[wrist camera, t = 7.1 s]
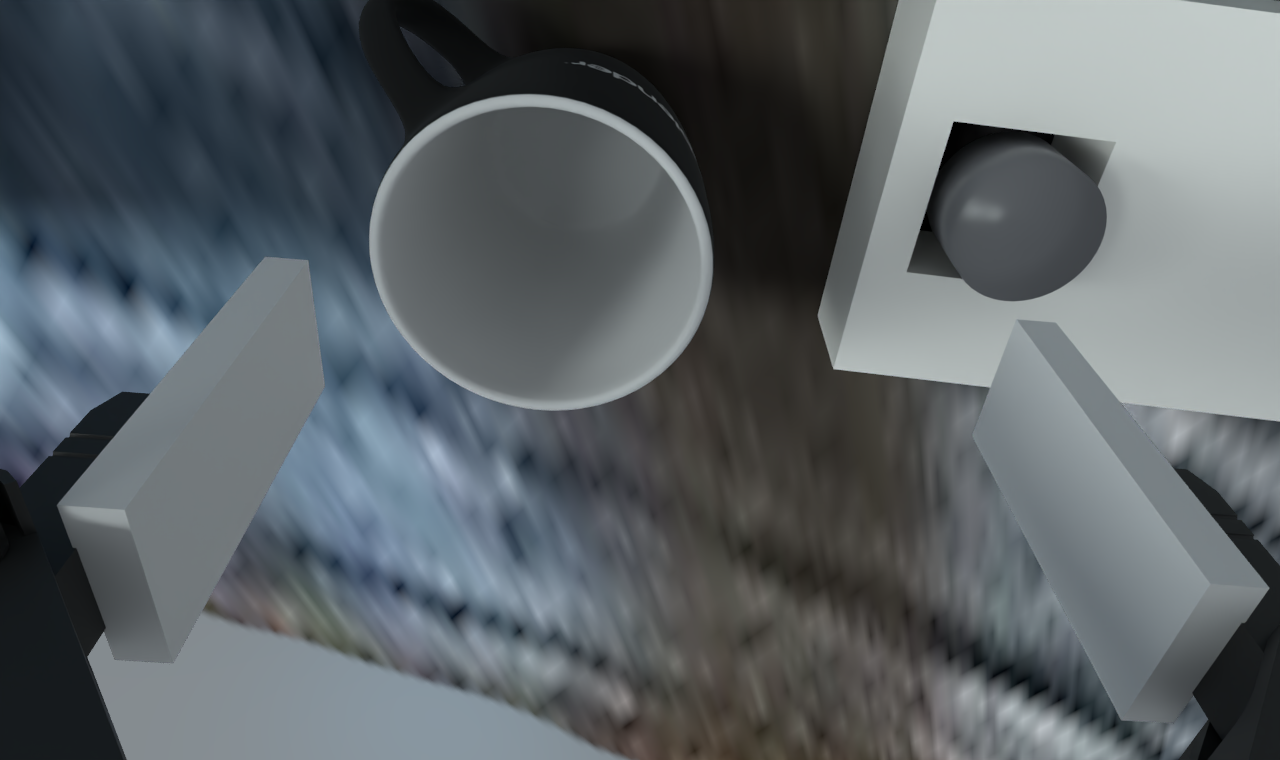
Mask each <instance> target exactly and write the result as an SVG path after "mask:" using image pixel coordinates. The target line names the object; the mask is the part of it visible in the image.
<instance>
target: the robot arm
mask: <svg viewBox="0 0 1280 760" xmlns="http://www.w3.org/2000/svg"><path fill="white" fill-rule="evenodd" d="M324 387H325V383H324V376H323V368H322V360H321V353H320V345H319V338H318V330H317V323H316V315H315V308H314V300H313V292H312V285H311V277H310V270H309V262H308V260H298V259H286V258H274V257H264V259H263V260H262V261H261V262H260V263H259V265H258V266H257V267H256V268H255V269H254V271H253V272H252V273H251V274H250V275H249V277H248V278H247V279H246V280H245V281H244V282H243V284H242V285H241V286H240V287H239V288H238V290H237V291H236V292H235V293H234V294H233V296H232V297H231V298H230V299H229V300H228V302H227V303H226V304H225V305H224V306H223V308H222V309H221V310H220V311H219V312H218V313H217V315H216V316H215V317H214V318H213V319H212V321H211V322H210V323H209V324H208V325H207V327H206V328H205V329H204V330H203V331H202V333H201V334H200V335H199V336H198V337H197V339H196V340H195V341H194V342H193V343H192V344H191V346H190V347H189V348H188V349H187V350H186V352H185V353H184V354H183V355H182V356H181V358H180V359H179V360H178V361H177V362H176V364H175V365H174V366H173V367H172V368H171V370H170V371H169V372H168V373H167V374H166V376H165V377H164V378H163V379H162V380H161V381H160V383H159V384H158V385H157V386H156V387H155V389H154V390H153V391H152V392H151V393H150V394H145V393H132V392H121V393H120V394H118V395H116V396H114V397H113V398H111V399H109V400H108V401H106V402H104V403H103V404H101V405H99V406H97V407H96V408H94V409H92V410H91V411H90V412H89V413H88V414H87V415H86V416H85V417H84V418H83V419H82V420H81V421H80V423H79V424H78V425H77V426H76V427H75V428H74V429H73V430H72V431H71V432H70V437H69V438H65V439H64V440H63V441H62V442H61V443H60V444H59V446H58V447H57V448H56V449H55V450H54V451H53V456H48V458H47V459H46V460H45V461H44V462H43V463H42V464H41V465H40V466H39V467H38V469H37V470H36V471H35V472H34V473H33V474H32V475H31V476H30V477H29V478H28V479H27V481H26V482H25V483H24V484H23V485H22V486H21V487H20V488H19V486H18V483H17V481H16V480H15V479H14V478H13V477H12V476H11V474H10V473H9V472H8V471H6V470H2V469H0V760H126V757H125V754H124V752H123V749H122V746H121V744H120V741H119V739H118V736H117V733H116V731H115V728H114V726H113V723H112V720H111V718H110V715H109V713H108V710H107V707H106V705H105V702H104V699H103V697H102V694H101V692H100V689H99V687H98V684H97V681H96V679H95V676H94V673H93V671H92V668H91V666H90V664H89V661H88V658H87V656H88V655H89V653H90V652H91V650H92V649H93V647H94V645H95V644H96V642H97V641H98V639H99V638H100V636H101V634H102V633H103V632H105V635H106V638H107V641H108V643H109V646H110V649H111V651H112V654H113V657H114V659H115V660H125V661H142V662H158V663H174V661H175V659H176V658H177V656H178V654H179V652H180V650H181V648H182V647H183V645H184V643H185V641H186V639H187V638H188V636H189V634H190V632H191V630H192V628H193V627H194V625H195V623H196V621H197V619H198V617H199V616H200V614H201V612H202V610H203V608H204V606H205V605H206V603H207V601H208V599H209V597H210V595H211V594H212V592H213V590H214V588H215V586H216V585H217V583H218V581H219V579H220V577H221V575H222V574H223V572H224V570H225V568H226V566H227V564H228V563H229V561H230V559H231V557H232V555H233V553H234V552H235V550H236V548H237V546H238V544H239V542H240V541H241V539H242V537H243V535H244V533H245V532H246V530H247V528H248V526H249V524H250V522H251V521H252V519H253V517H254V515H255V513H256V511H257V510H258V508H259V506H260V504H261V502H262V500H263V499H264V497H265V495H266V493H267V491H268V490H269V488H270V486H271V484H272V482H273V480H274V479H275V477H276V475H277V473H278V471H279V469H280V468H281V466H282V464H283V462H284V460H285V458H286V457H287V455H288V453H289V451H290V449H291V447H292V446H293V444H294V442H295V440H296V438H297V437H298V435H299V433H300V431H301V429H302V427H303V426H304V424H305V422H306V420H307V418H308V416H309V415H310V413H311V411H312V409H313V407H314V405H315V404H316V402H317V400H318V398H319V396H320V394H321V393H322V391H323V389H324ZM972 437H973V439H974V441H975V443H976V445H977V447H978V448H979V450H980V452H981V454H982V456H983V458H984V460H985V462H986V464H987V466H988V467H989V469H990V471H991V473H992V475H993V477H994V479H995V481H996V483H997V485H998V486H999V488H1000V490H1001V492H1002V494H1003V496H1004V498H1005V500H1006V502H1007V504H1008V505H1009V507H1010V509H1011V511H1012V513H1013V515H1014V517H1015V519H1016V521H1017V523H1018V524H1019V526H1020V528H1021V530H1022V532H1023V534H1024V536H1025V538H1026V540H1027V542H1028V543H1029V545H1030V547H1031V549H1032V551H1033V553H1034V555H1035V557H1036V559H1037V561H1038V563H1039V564H1040V566H1041V568H1042V570H1043V572H1044V574H1045V576H1046V578H1047V580H1048V582H1049V583H1050V585H1051V587H1052V589H1053V591H1054V593H1055V595H1056V597H1057V599H1058V601H1059V602H1060V604H1061V606H1062V608H1063V610H1064V612H1065V614H1066V616H1067V618H1068V620H1069V621H1070V623H1071V625H1072V627H1073V629H1074V631H1075V633H1076V635H1077V637H1078V639H1079V640H1080V642H1081V644H1082V646H1083V648H1084V650H1085V652H1086V654H1087V656H1088V658H1089V659H1090V661H1091V663H1092V665H1093V667H1094V669H1095V671H1096V673H1097V675H1098V677H1099V678H1100V680H1101V682H1102V684H1103V686H1104V688H1105V690H1106V692H1107V694H1108V696H1109V698H1110V699H1111V701H1112V703H1113V705H1114V707H1115V709H1116V711H1117V713H1118V715H1119V717H1120V718H1121V720H1126V721H1143V722H1160V723H1174V722H1175V721H1176V719H1177V718H1178V716H1179V715H1180V714H1181V712H1182V711H1183V709H1184V708H1185V707H1186V705H1187V704H1188V702H1189V701H1190V700H1191V698H1192V697H1193V695H1194V697H1195V698H1196V700H1197V702H1198V703H1199V705H1200V706H1201V708H1202V710H1203V711H1204V713H1205V714H1206V716H1207V718H1208V721H1207V722H1206V723H1205V725H1204V726H1203V727H1202V729H1201V730H1200V732H1199V733H1198V734H1197V736H1196V737H1195V738H1194V740H1193V741H1192V742H1191V744H1190V745H1189V746H1188V748H1187V749H1186V750H1185V752H1184V753H1183V754H1182V756H1181V757H1180V758H1179V760H1280V566H1279V564H1278V563H1277V562H1276V561H1275V560H1274V558H1273V557H1272V556H1271V555H1270V554H1269V552H1268V551H1267V550H1266V549H1265V548H1264V547H1263V545H1262V544H1261V543H1260V542H1259V541H1258V540H1254V539H1253V536H1254V535H1253V533H1252V532H1251V531H1250V530H1249V529H1248V528H1247V526H1246V525H1245V524H1244V523H1243V522H1242V520H1237V514H1236V513H1235V512H1234V511H1233V510H1232V509H1231V507H1230V506H1229V505H1228V504H1227V503H1226V501H1225V500H1224V499H1223V498H1222V497H1221V495H1220V494H1219V493H1218V492H1217V491H1216V490H1214V489H1213V488H1212V487H1210V486H1209V485H1208V484H1206V483H1205V482H1203V481H1202V480H1201V479H1199V478H1198V477H1197V476H1195V475H1194V474H1193V473H1191V472H1190V471H1188V470H1186V469H1173V467H1172V466H1171V465H1170V464H1169V462H1168V461H1167V460H1166V459H1165V457H1164V456H1163V455H1162V454H1161V452H1160V451H1159V450H1158V449H1157V448H1156V446H1155V445H1154V444H1153V443H1152V441H1151V440H1150V439H1149V438H1148V436H1147V435H1146V434H1145V433H1144V431H1143V430H1142V429H1141V428H1140V426H1139V425H1138V424H1137V423H1136V421H1135V420H1134V419H1133V418H1132V416H1131V415H1130V414H1129V413H1128V411H1127V410H1126V409H1125V408H1124V407H1123V405H1122V404H1121V403H1120V402H1119V400H1118V399H1117V398H1116V397H1115V395H1114V394H1113V393H1112V392H1111V390H1110V389H1109V388H1108V387H1107V385H1106V384H1105V383H1104V382H1103V380H1102V379H1101V378H1100V377H1099V375H1098V374H1097V373H1096V372H1095V370H1094V369H1093V368H1092V367H1091V366H1090V364H1089V363H1088V362H1087V361H1086V359H1085V358H1084V357H1083V356H1082V354H1081V353H1080V352H1079V351H1078V349H1077V348H1076V347H1075V346H1074V344H1073V343H1072V342H1071V341H1070V339H1069V338H1068V337H1067V336H1066V334H1065V333H1064V332H1063V331H1062V329H1061V328H1060V327H1059V326H1058V325H1057V323H1055V322H1043V321H1031V320H1019V319H1016V322H1015V324H1014V327H1013V329H1012V332H1011V335H1010V337H1009V340H1008V342H1007V345H1006V348H1005V350H1004V353H1003V356H1002V358H1001V361H1000V363H999V366H998V369H997V371H996V374H995V376H994V379H993V382H992V384H991V387H990V389H989V392H988V395H987V397H986V400H985V402H984V405H983V408H982V410H981V413H980V416H979V418H978V421H977V423H976V426H975V429H974V431H973V434H972Z"/></svg>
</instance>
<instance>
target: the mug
mask: <svg viewBox="0 0 1280 760" xmlns="http://www.w3.org/2000/svg"><path fill="white" fill-rule="evenodd" d="M399 26H400V27H403V28H405V29H406V30H408V31H410V32H412V33H413V34H415V35H417V36H418V37H419V38H421V39H422V40H424V41H425V42H426V43H428V44H429V45H430V46H431V47H433V48H434V49H435V50H436V51H437V52H439V53H440V54H441V55H442V56H443V57H444V58H445V59H446V60H447V61H448V62H449V63H450V64H451V65H452V66H453V67H454V68H455V69H456V71H457V72H458V73H459V75H460V76H461V78H462V79H463V81H464V84H465V86H463V87H447V86H444V85H442V84H440V83H439V82H437V81H436V80H435V79H434V78H432V77H431V76H430V75H429V74H428V73H427V72H426V70H425V69H424V68H423V67H422V66H421V64H420V63H419V62H418V60H417V59H416V57H415V56H414V54H413V52H412V51H411V49H410V48H409V46H408V44H407V42H406V40H405V38H404V36H403V34H402V32H401V30H400V27H399ZM359 34H360V41H361V45H362V49H363V51H364V54H365V57H366V59H367V61H368V63H369V65H370V67H371V69H372V71H373V73H374V74H375V76H376V78H377V80H378V81H379V83H380V84H381V86H382V88H383V89H384V91H385V93H386V94H387V96H388V97H389V99H390V101H391V102H392V104H393V106H394V107H395V109H396V111H397V113H398V114H399V116H400V119H401V121H402V123H403V126H404V129H405V142H404V145H403V146H402V148H401V149H400V151H399V152H398V153H397V155H396V156H395V157H394V159H393V161H392V162H391V164H390V166H389V167H388V169H387V171H386V172H385V175H384V177H383V179H382V181H381V183H380V186H379V188H378V192H377V195H376V198H375V201H374V204H373V209H372V214H371V220H370V231H369V252H370V259H371V267H372V271H373V275H374V280H375V283H376V286H377V289H378V292H379V295H380V297H381V300H382V302H383V304H384V306H385V308H386V311H387V312H388V314H389V316H390V318H391V319H392V321H393V323H394V324H395V326H396V327H397V329H398V330H399V332H400V333H401V334H402V336H403V337H404V338H405V340H406V341H407V342H408V343H409V344H410V346H411V347H412V348H413V349H414V350H415V351H416V352H417V353H418V354H419V355H420V356H421V357H422V358H423V359H424V360H425V361H426V362H427V363H429V364H430V365H431V366H432V367H433V368H435V369H436V370H437V371H438V372H440V373H441V374H443V375H444V376H445V377H447V378H448V379H450V380H451V381H453V382H455V383H457V384H458V385H460V386H462V387H463V388H465V389H467V390H470V391H472V392H474V393H476V394H478V395H480V396H483V397H486V398H488V399H491V400H494V401H497V402H500V403H504V404H507V405H512V406H516V407H521V408H528V409H535V410H572V409H581V408H587V407H592V406H597V405H600V404H604V403H607V402H611V401H613V400H616V399H619V398H621V397H624V396H626V395H628V394H630V393H632V392H634V391H636V390H638V389H640V388H641V387H643V386H645V385H646V384H648V383H649V382H651V381H652V380H654V379H655V378H656V377H658V376H659V375H660V374H662V373H663V372H664V371H665V370H666V369H667V368H668V367H669V366H670V365H671V364H672V363H673V362H674V361H675V360H676V359H677V358H678V357H679V356H680V355H681V353H682V352H683V351H684V349H685V348H686V347H687V345H688V344H689V343H690V341H691V340H692V338H693V336H694V334H695V333H696V331H697V329H698V327H699V325H700V323H701V321H702V318H703V316H704V313H705V310H706V307H707V304H708V301H709V298H710V293H711V288H712V284H713V274H714V237H713V228H712V220H711V214H710V209H709V204H708V200H707V195H706V191H705V187H704V183H703V179H702V176H701V173H700V170H699V167H698V164H697V161H696V158H695V155H694V152H693V149H692V147H691V144H690V142H689V140H688V138H687V135H686V133H685V131H684V129H683V127H682V125H681V123H680V122H679V120H678V118H677V116H676V115H675V113H674V111H673V110H672V108H671V107H670V105H669V104H668V102H667V101H666V100H665V98H664V97H663V96H662V95H661V93H660V92H659V91H658V90H657V89H656V88H655V87H654V86H653V85H652V84H651V83H650V82H649V81H648V80H647V79H646V78H645V77H644V76H642V75H641V74H640V73H638V72H637V71H636V70H635V69H633V68H631V67H630V66H628V65H627V64H625V63H623V62H621V61H619V60H617V59H615V58H613V57H610V56H608V55H605V54H602V53H599V52H595V51H591V50H585V49H577V48H553V49H547V50H540V51H536V52H532V53H528V54H525V55H522V56H519V57H513V58H509V57H505V56H503V55H501V54H500V53H498V52H496V51H495V50H493V49H492V48H490V47H489V46H488V45H486V44H485V43H484V42H483V41H482V40H480V39H479V38H478V37H477V36H476V35H475V34H474V33H473V32H472V31H470V30H469V29H468V28H467V27H466V26H465V25H464V24H463V23H462V22H460V21H459V20H458V19H457V18H456V17H455V16H453V15H452V14H451V13H450V12H448V11H447V10H446V9H445V8H443V7H442V6H441V5H439V4H438V3H436V2H435V1H434V0H369V1H368V2H367V4H366V5H365V7H364V8H363V10H362V13H361V16H360V21H359Z"/></svg>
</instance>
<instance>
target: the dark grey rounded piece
mask: <svg viewBox="0 0 1280 760" xmlns="http://www.w3.org/2000/svg"><path fill="white" fill-rule="evenodd" d="M927 210H928V220H929V224H930V227H931V230H932V232H933V234H934V235H935V237H936V239H937V240H938V242H939V244H940V245H941V247H942V248H943V250H944V251H945V253H946V254H947V256H948V257H949V259H950V261H951V262H952V264H953V265H954V267H955V268H956V270H957V271H958V273H959V275H960V276H961V277H962V279H963V280H964V281H965V283H967V284H968V285H969V286H970V287H971V288H972V289H973V290H975V291H976V292H978V293H980V294H982V295H984V296H986V297H989V298H992V299H996V300H1001V301H1024V300H1030V299H1035V298H1038V297H1042V296H1044V295H1047V294H1049V293H1052V292H1054V291H1056V290H1058V289H1060V288H1061V287H1063V286H1064V285H1066V284H1067V283H1069V282H1070V281H1071V280H1073V279H1074V278H1075V277H1077V276H1078V275H1079V274H1080V273H1081V272H1082V271H1083V270H1084V269H1085V268H1086V266H1087V265H1088V264H1089V263H1090V262H1091V260H1092V259H1093V257H1094V256H1095V254H1096V253H1097V251H1098V249H1099V247H1100V245H1101V242H1102V240H1103V237H1104V234H1105V229H1106V222H1107V211H1106V205H1105V201H1104V198H1103V195H1102V193H1101V191H1100V189H1099V188H1098V186H1097V185H1096V184H1095V183H1094V181H1093V180H1092V179H1091V178H1090V177H1089V176H1087V175H1086V174H1085V173H1084V172H1083V171H1081V170H1080V169H1079V168H1078V167H1077V166H1075V165H1074V164H1073V163H1072V162H1071V161H1069V160H1068V159H1067V158H1066V157H1064V156H1063V155H1062V154H1061V153H1060V152H1058V151H1057V150H1056V149H1055V148H1054V147H1052V146H1051V145H1050V144H1049V143H1047V142H1046V141H1045V140H1043V139H1041V138H1039V137H1037V136H1034V135H1032V134H1029V133H1024V132H1014V131H1008V132H999V133H994V134H990V135H987V136H984V137H981V138H979V139H977V140H974V141H973V142H971V143H969V144H967V145H966V146H964V147H963V148H961V149H960V150H959V151H957V152H956V153H955V154H954V155H953V156H952V157H951V158H950V159H949V160H948V161H947V162H946V163H945V165H944V166H943V167H942V169H941V170H940V171H939V173H938V174H937V176H936V179H935V183H934V186H933V189H932V192H931V195H930V199H929V202H928V206H927Z"/></svg>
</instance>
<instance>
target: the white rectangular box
mask: <svg viewBox="0 0 1280 760" xmlns="http://www.w3.org/2000/svg"><path fill="white" fill-rule="evenodd" d="M953 121H955V122H963V123H971V124H979V125H986V126H994V127H1002V128H1010V129H1018V130H1025V131H1033V132H1041V133H1049V134H1055V135H1054V138H1053V141H1052V143H1051V146H1052V147H1054V148H1055V149H1056V150H1057V151H1058V152H1060V153H1061V154H1062V155H1063V156H1064V157H1066V158H1067V159H1068V160H1069V161H1071V162H1072V163H1073V164H1074V165H1075V166H1077V167H1078V168H1079V169H1080V170H1081V171H1083V172H1084V173H1085V174H1086V175H1087V176H1089V177H1090V178H1091V179H1092V180H1093V181H1094V183H1095V184H1096V185H1097V186H1098V188H1099V189H1100V191H1101V193H1102V195H1103V198H1104V201H1105V205H1106V211H1107V222H1106V229H1105V234H1104V237H1103V240H1102V242H1101V245H1100V247H1099V249H1098V251H1097V253H1096V254H1095V256H1094V257H1093V259H1092V260H1091V262H1090V263H1089V264H1088V265H1087V266H1086V268H1085V269H1084V270H1083V271H1082V272H1081V273H1080V274H1079V275H1078V276H1077V277H1075V278H1074V279H1073V280H1071V281H1070V282H1069V283H1067V284H1066V285H1064V286H1063V287H1061V288H1060V289H1058V290H1056V291H1054V292H1052V293H1049V294H1047V295H1044V296H1042V297H1038V298H1035V299H1030V300H1024V301H1001V300H996V299H992V298H989V297H986V296H984V295H982V294H980V293H978V292H976V291H975V290H973V289H972V288H971V287H970V286H969V285H968V284H967V283H965V281H964V280H963V279H962V277H961V276H960V275H959V273H958V271H957V270H956V268H955V267H954V265H953V264H952V262H951V261H950V259H949V257H948V256H947V254H946V253H945V251H944V250H943V248H942V247H941V245H940V244H939V242H938V240H937V239H936V237H935V235H934V234H933V232H930V231H922V230H920V227H921V224H922V221H923V218H924V215H925V211H926V208H927V205H928V202H929V199H930V195H931V192H932V189H933V186H934V183H935V179H936V176H937V173H938V170H939V166H940V163H941V160H942V157H943V154H944V150H945V147H946V144H947V141H948V138H949V134H950V131H951V128H952V125H953ZM818 319H819V322H820V326H821V329H822V332H823V336H824V339H825V343H826V346H827V349H828V353H829V356H830V359H831V363H832V366H833V369H838V370H846V371H855V372H863V373H872V374H880V375H889V376H897V377H906V378H914V379H923V380H931V381H940V382H948V383H957V384H965V385H974V386H983V387H991V384H992V382H993V379H994V376H995V374H996V371H997V369H998V366H999V363H1000V361H1001V358H1002V356H1003V353H1004V350H1005V348H1006V345H1007V342H1008V340H1009V337H1010V335H1011V332H1012V329H1013V327H1014V324H1015V322H1016V319H1019V320H1031V321H1043V322H1055V323H1057V325H1058V326H1059V327H1060V328H1061V329H1062V331H1063V332H1064V333H1065V334H1066V336H1067V337H1068V338H1069V339H1070V341H1071V342H1072V343H1073V344H1074V346H1075V347H1076V348H1077V349H1078V351H1079V352H1080V353H1081V354H1082V356H1083V357H1084V358H1085V359H1086V361H1087V362H1088V363H1089V364H1090V366H1091V367H1092V368H1093V369H1094V370H1095V372H1096V373H1097V374H1098V375H1099V377H1100V378H1101V379H1102V380H1103V382H1104V383H1105V384H1106V385H1107V387H1108V388H1109V389H1110V390H1111V392H1112V393H1113V394H1114V395H1115V397H1116V398H1117V399H1118V400H1119V402H1120V403H1127V404H1136V405H1144V406H1153V407H1161V408H1170V409H1178V410H1187V411H1195V412H1204V413H1212V414H1221V415H1230V416H1238V417H1247V418H1255V419H1264V420H1272V421H1280V1H1274V0H899V1H898V5H897V9H896V13H895V17H894V21H893V25H892V28H891V32H890V36H889V40H888V44H887V48H886V52H885V56H884V60H883V63H882V67H881V71H880V75H879V79H878V83H877V87H876V91H875V94H874V98H873V102H872V106H871V110H870V114H869V118H868V122H867V125H866V129H865V133H864V137H863V141H862V145H861V149H860V153H859V157H858V160H857V164H856V168H855V172H854V176H853V180H852V184H851V188H850V191H849V195H848V199H847V203H846V207H845V211H844V215H843V219H842V222H841V226H840V230H839V234H838V238H837V242H836V246H835V250H834V254H833V257H832V261H831V265H830V269H829V273H828V277H827V281H826V285H825V288H824V292H823V296H822V300H821V304H820V308H819V312H818Z"/></svg>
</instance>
